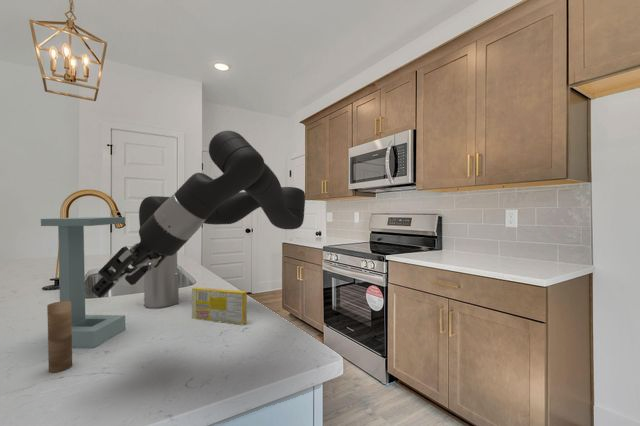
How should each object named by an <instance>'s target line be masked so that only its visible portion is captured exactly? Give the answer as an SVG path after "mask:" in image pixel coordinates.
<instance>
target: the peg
mask: <svg viewBox="0 0 640 426" xmlns="http://www.w3.org/2000/svg"><path fill="white" fill-rule="evenodd" d="M46 308H47V309H46V310H47V312H46V313H47V350H48V351H47V353H48V355H47V357H48V359H47V360H48V372H49V373H53V374H55V373H60V372H64V371H66V370H69V369H70V368H71V367H72V366H73V347H72V321H71V301H61V302H60V301H57V302H52V303H49V304H47V305H46Z"/></svg>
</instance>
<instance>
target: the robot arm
mask: <svg viewBox="0 0 640 426" xmlns="http://www.w3.org/2000/svg"><path fill="white" fill-rule="evenodd" d="M208 154H209V157H210V159H211V161H212V162H213V163H214V165H215V166H216V167H217V168H218V169H219V170H220V171H221V172H222V174H221V175H219V176H218V177H216V178H214V179H213V178H212V177H210V176H209V175H207V174H205V173H203V172H196V173H194V174H192V175H191V176H190V177H189V178H188V179H187V180H186V181H185V182H184V183H182V185H181V186H180V187H179V188H178V189H177V190H176V192H174V194H172V195H171V196H157V195H156V196H154V195H151V196H147V197H145V198H143V200H142V201H141V203H140V205H139V208H138V209H139V210H138V223H139V229H138V234H139V235H138V236H139V239H140V242H138V243H135V244H134V245H132V246H131V247H130V248H128V247H127V246H123V247H121V248H120V249H119V250H118V251H117V252H116V253H115V254H114V255H113V256H112V258H110V259H109V260H108V261H107V263H106V264H104V266H103V267H101V268H100V270H98V272H97V273H98V274H99V275H100V277H101V278H100V279H99V280H98V281H97V282H96V283H95V285H93V287H91V292H92V293H93V294H94V295H96V297H97V298H102V297H105V296H106V295H107V294H108V293H109V292H110V290H111V289H112V288H113V287H114V286H115V285H117V283H119V282H120V280H122V279H123V278H124V280H125V281H126V282H127V283H128V284H129V285H130V286H134V285H136V284H137V283H138V282H139V281H140V280H141V279H142V278H143V288H144V289H143V291H144V292H143V293H144V296H143V297H144V298H143V301H144V307H145V308H150V309H155V308H156V309H157V308H166V307H170V306H173V305H176V304H180V298H179V297H180V296H179V272H178V251H179V250H180V249H182V247H183V246H184V245H186V243H188V241H189V240H190V239H191V238H192V236H194V235H195V234H196V233H197V232H198V231H199V229H201V227H202V226H203V224H206V225H217V226H218V225H232V224H235V223H238V222H240V221H241V220H243V219H244V218H246V217H247V216H248V215H251V213H252V212H254V211H256V210H257V209H259V208H261V210H262V211H263V212H264V215H265V216H266V217H267V219H268V220H269V222H270V223H271V224H272V225H273V226H274V227H275V228H278V229H282V230H296V229H299V228H301V227H302V225H303V224H304V221H305V207H306V206H305V205H306V193H305V191H304V190H303V189H302V188H298V187H296V186H295V187H293V186H282V185H281V183H280V180H279V178H278V177H277V175H276V174H275V173H274V171H273V170H272V169H271V168H270V166H269V165H268V164H267V163H265V160H264V157H263V156H262V155H261V153H260V152H259V151H258V150H257V149H256V148H254V147H253V146H252V144H250V143H249V142H248V140H246V138H245V137H244V136H242V135H241V134H240V133H238V132H237V131H234V130H233V131H232V130H221V131H220V132H218V133H216V134H215V135H214V136H213V137H212V138H211V140H210V142H209V144H208ZM129 266H131V268H130V267H129Z"/></svg>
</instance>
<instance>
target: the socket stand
mask: <svg viewBox="0 0 640 426" xmlns="http://www.w3.org/2000/svg"><path fill="white" fill-rule="evenodd" d="M119 224H120V225H121V224H122V225H123V224H126V217H125V216H112V217H111V216H108V217H107V216H103V217H102V216H99V217H98V216H97V217H96V216H94V217H93V216H89V217H87V216H86V217H85V216H83V217H59V218H56V217H54V218H40V227H57V229H58V230H57V231H58V235H57V236H58V277H59V278H58V279H59V283H58V286H59V302H61V301H71V321H72V348H79V349H81V348H88V349H89V348H91V349H94V348H97V347H99V346H101V344H104V343H105V342H106V341H108V340H110V339H112V338H113V337H115V336H117V335H118V334H120V333H122V332H124V331H125V330H126V315H124V314H121V315H120V314H86V289H85V287H86V283H85V280H86V279H85V230H84V228H85V227H94V226H107V225H119Z"/></svg>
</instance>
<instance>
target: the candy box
mask: <svg viewBox="0 0 640 426" xmlns="http://www.w3.org/2000/svg"><path fill="white" fill-rule="evenodd" d="M247 292H248V291H244V290H234V289H233V290H232V289H223V288H222V289H221V288H211V287H210V288H209V287H199V286H195V287H192V290H191V319H194V318H195V319H197V320H201V319H204V320H203V321H209V320H213V321H212V322H217V321H221V322H220V323H224V322H228V323H227V324H232V323H235V324H234V325H240V324H244V325H245V324H247V323H246V322H247V321H248V320H247V318H248V317H247V315H248V314H247V312H248V310H247V308H248V307H247V304H248V302H247V301H248V300H247V299H248V297H247V296H248V293H247Z"/></svg>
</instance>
